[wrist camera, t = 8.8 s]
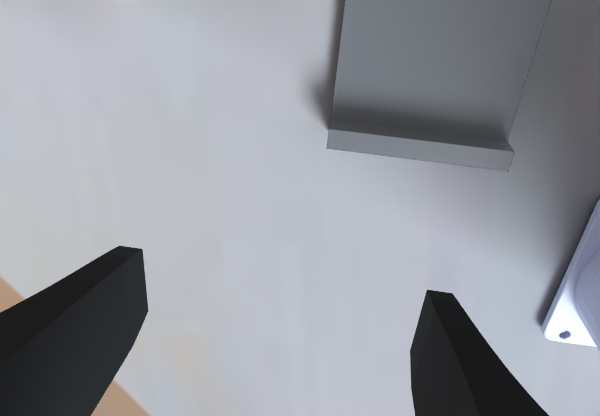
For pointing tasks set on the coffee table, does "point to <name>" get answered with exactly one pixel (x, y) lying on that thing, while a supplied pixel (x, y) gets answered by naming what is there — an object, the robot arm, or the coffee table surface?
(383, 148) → the tray
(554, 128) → the coffee table surface
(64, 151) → the coffee table surface
